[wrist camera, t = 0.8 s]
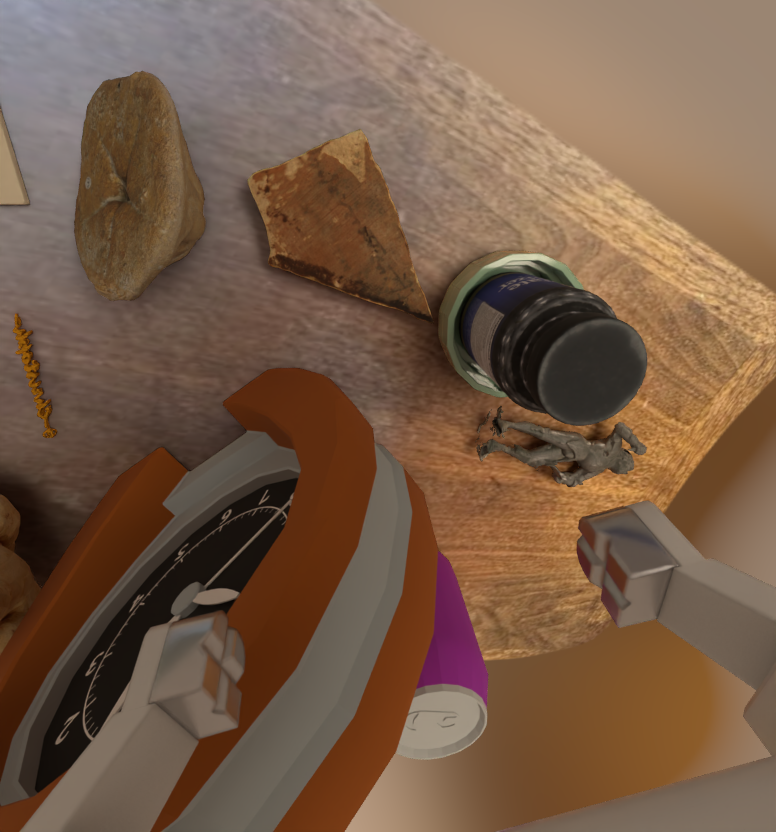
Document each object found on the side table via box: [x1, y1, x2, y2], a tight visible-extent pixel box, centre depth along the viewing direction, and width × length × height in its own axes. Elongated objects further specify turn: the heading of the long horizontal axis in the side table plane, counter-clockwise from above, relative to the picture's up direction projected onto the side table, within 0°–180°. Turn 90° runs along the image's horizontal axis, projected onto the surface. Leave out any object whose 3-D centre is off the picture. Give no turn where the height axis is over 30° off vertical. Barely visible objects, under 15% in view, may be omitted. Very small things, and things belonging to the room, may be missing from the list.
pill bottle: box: [459, 272, 647, 426], centre depth 23 cm, size 6×6×11 cm
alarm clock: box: [0, 368, 438, 832], centre depth 21 cm, size 22×10×23 cm, turn 124°
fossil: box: [74, 71, 206, 301], centre depth 22 cm, size 9×4×10 cm
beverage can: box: [396, 551, 488, 759], centre depth 31 cm, size 8×8×12 cm
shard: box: [248, 129, 434, 323], centre depth 25 cm, size 11×8×2 cm
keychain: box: [13, 314, 57, 438], centre depth 27 cm, size 8×1×1 cm
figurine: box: [475, 406, 647, 487], centre depth 31 cm, size 6×4×12 cm
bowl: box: [438, 251, 584, 397], centre depth 27 cm, size 8×8×3 cm
